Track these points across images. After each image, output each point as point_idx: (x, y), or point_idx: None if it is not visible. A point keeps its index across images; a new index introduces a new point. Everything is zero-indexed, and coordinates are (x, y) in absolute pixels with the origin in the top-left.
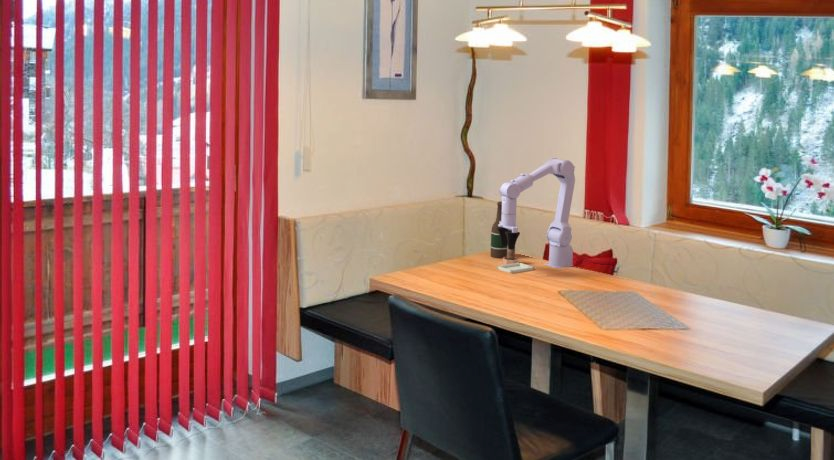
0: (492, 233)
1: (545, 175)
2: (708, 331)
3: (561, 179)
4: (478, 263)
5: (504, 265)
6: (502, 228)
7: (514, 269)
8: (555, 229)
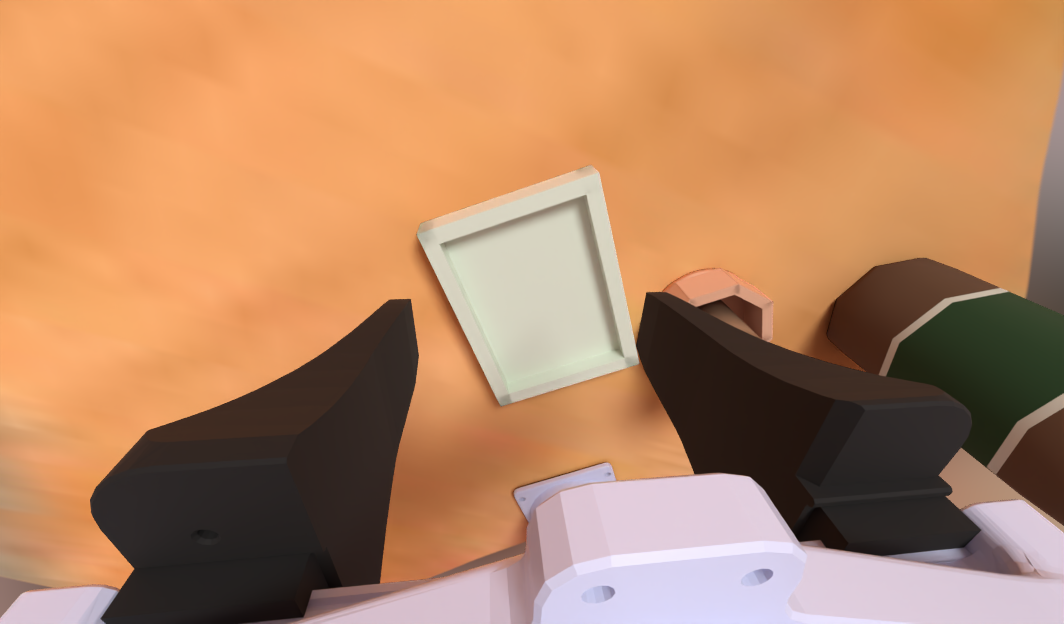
0: None
1: None
2: None
3: None
4: (843, 91)
5: (597, 241)
6: (803, 491)
7: (527, 286)
8: None
